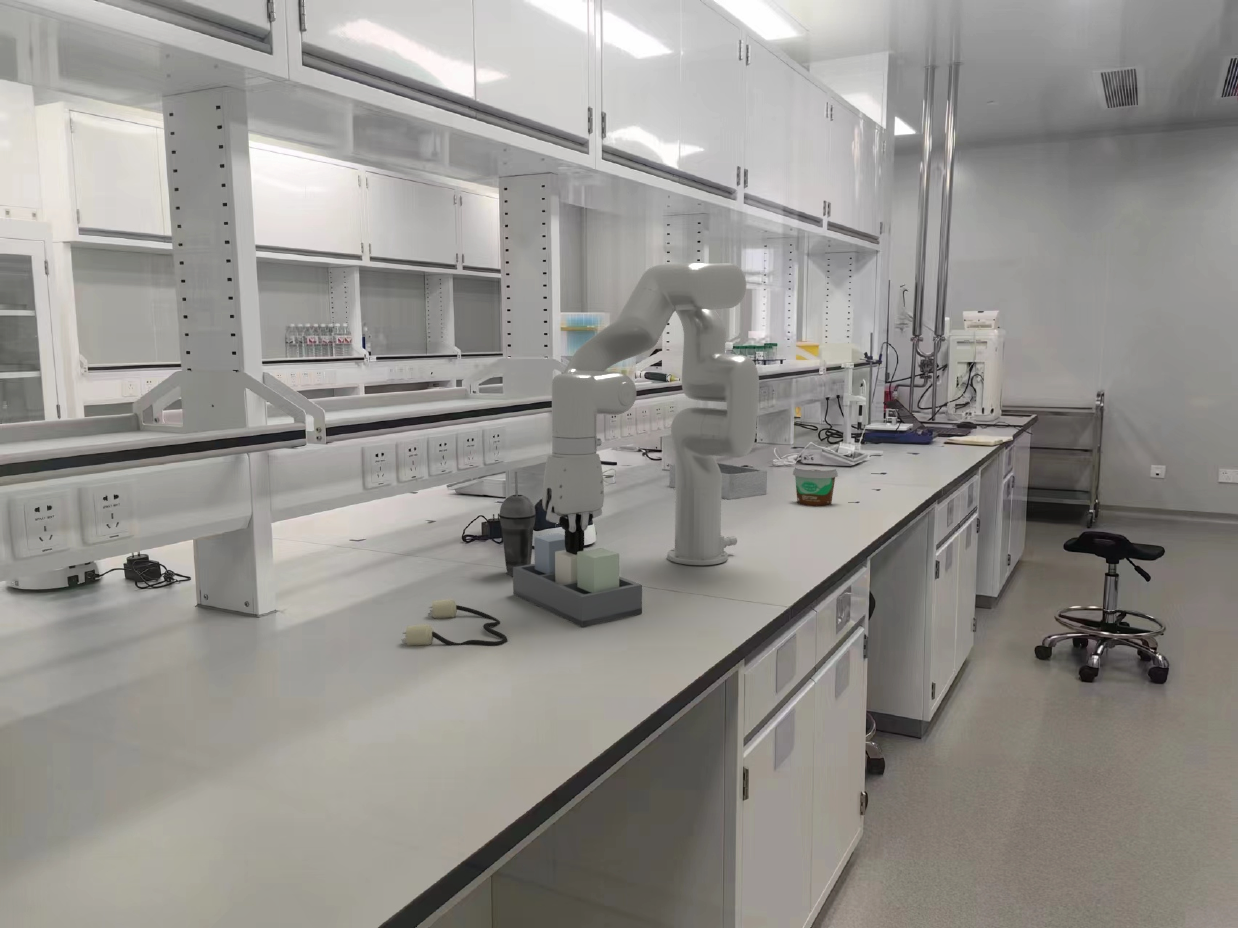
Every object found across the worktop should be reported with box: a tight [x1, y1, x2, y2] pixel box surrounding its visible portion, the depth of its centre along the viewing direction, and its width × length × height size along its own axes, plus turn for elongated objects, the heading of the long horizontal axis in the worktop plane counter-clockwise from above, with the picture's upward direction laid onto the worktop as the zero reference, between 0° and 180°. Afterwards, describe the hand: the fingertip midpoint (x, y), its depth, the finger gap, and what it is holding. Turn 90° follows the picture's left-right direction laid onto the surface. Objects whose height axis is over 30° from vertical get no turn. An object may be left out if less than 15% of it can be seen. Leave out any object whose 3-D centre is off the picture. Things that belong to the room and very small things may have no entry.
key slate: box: [533, 532, 566, 574], centre depth 157 cm, size 5×5×6 cm
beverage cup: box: [498, 471, 537, 577], centre depth 171 cm, size 7×7×20 cm
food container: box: [792, 467, 839, 507], centre depth 244 cm, size 12×6×10 cm, turn 73°
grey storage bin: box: [669, 461, 768, 500], centre depth 267 cm, size 15×27×7 cm, turn 36°
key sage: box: [577, 547, 620, 593], centre depth 146 cm, size 5×5×6 cm
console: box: [512, 563, 643, 628], centre depth 153 cm, size 12×22×5 cm, turn 36°
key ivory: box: [555, 549, 587, 584], centre depth 152 cm, size 5×5×6 cm
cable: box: [401, 598, 508, 647], centre depth 139 cm, size 16×16×4 cm
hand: (574, 552), depth 151 cm, fingers closed
